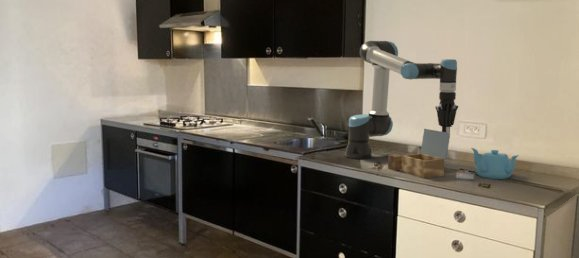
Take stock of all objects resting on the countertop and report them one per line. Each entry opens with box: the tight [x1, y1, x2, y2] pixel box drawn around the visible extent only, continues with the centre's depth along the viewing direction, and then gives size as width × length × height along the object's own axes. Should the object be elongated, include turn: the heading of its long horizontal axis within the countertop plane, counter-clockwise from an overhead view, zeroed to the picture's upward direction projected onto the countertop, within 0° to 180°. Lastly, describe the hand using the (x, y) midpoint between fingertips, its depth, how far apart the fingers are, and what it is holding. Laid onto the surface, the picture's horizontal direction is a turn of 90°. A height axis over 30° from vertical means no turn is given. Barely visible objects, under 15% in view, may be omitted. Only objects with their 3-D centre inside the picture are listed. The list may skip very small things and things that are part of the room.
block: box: [387, 153, 402, 172], centre depth 244 cm, size 5×5×7 cm
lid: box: [421, 128, 451, 160], centre depth 236 cm, size 17×12×1 cm
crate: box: [400, 153, 446, 179], centre depth 234 cm, size 16×12×8 cm
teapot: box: [470, 147, 520, 180], centre depth 229 cm, size 17×19×12 cm
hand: (445, 139), depth 239 cm, fingers closed
